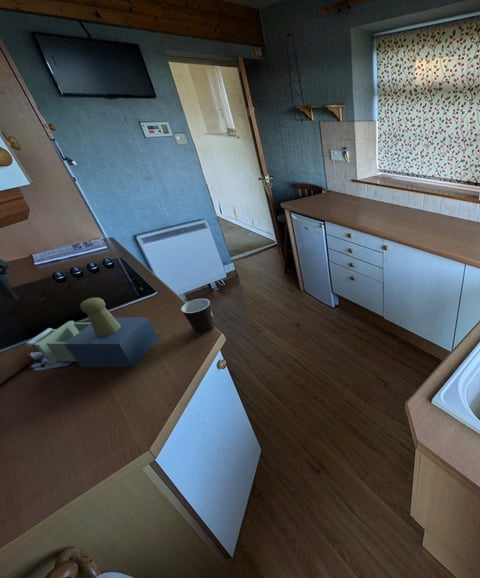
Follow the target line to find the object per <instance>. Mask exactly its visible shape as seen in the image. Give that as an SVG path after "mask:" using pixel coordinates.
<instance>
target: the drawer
mask: <svg viewBox="0 0 480 578" xmlns="http://www.w3.org/2000/svg"><path fill="white" fill-rule="evenodd" d="M90 324H91V322H75V321H74V320H68V321H67V322H65V323H64V324H63V325H61V326H59V327H58V328H57V329H54V328H51V327H48V328H47V329H45V330H43V331H42V332H40V333H39V334H38V335H36V336H34V337H33V338H31V339H30V340H28V341H26V342H25V345H26V346H27V347H33V346H35V348H36V349H37V350H38V351H39V352H40V354H41V355H42V356H43V357H44V359H46V361H47V362H48V363H49V364H50V365H53V364H54V365H55V364H56V363H57V362H58V361H59V362H77V360H76V359H75V358H74V356H73V355H72V354H71V352H70V351H69V350H68V348H67V347H66V346H65V343H66V342H67V341H69V340H70V339H71V338H73V337H74V336H75V335H77V334H78V333H79V332H81V331H82V330H83V329H85V328H86V327H87V326H89V325H90Z"/></svg>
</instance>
